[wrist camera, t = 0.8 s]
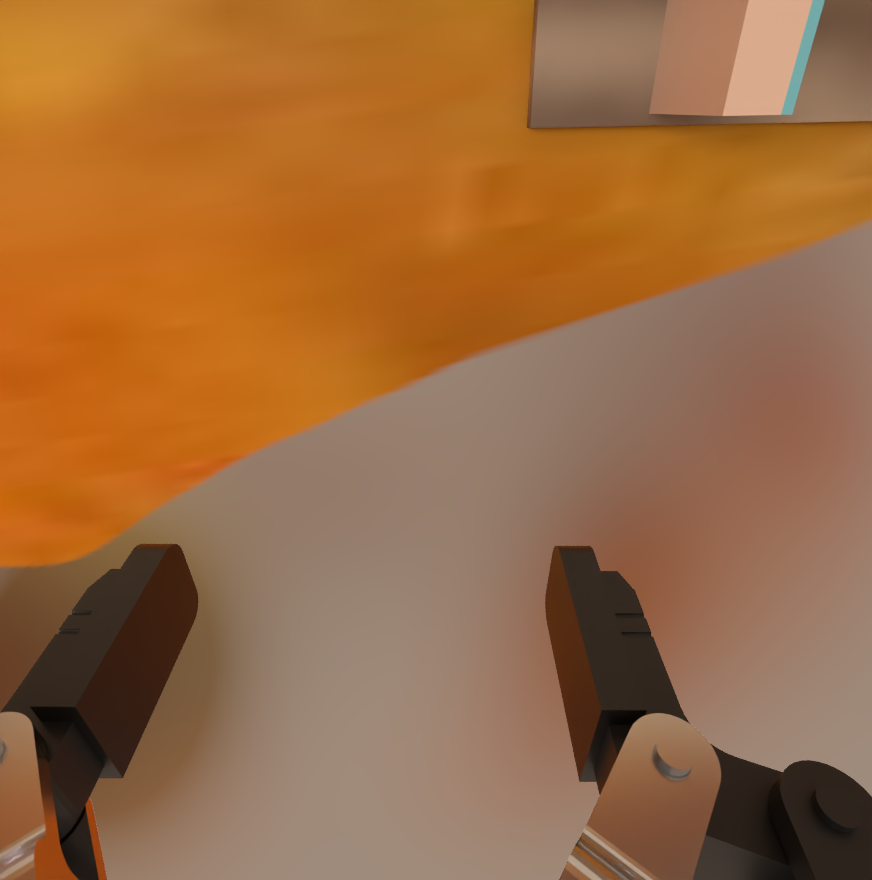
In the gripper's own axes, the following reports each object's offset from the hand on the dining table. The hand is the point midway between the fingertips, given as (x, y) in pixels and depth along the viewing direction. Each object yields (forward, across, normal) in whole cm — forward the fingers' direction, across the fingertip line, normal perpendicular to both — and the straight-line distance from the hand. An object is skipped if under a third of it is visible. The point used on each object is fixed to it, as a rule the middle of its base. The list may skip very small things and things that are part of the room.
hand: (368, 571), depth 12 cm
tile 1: (+22, -13, -10) cm, 28 cm away
